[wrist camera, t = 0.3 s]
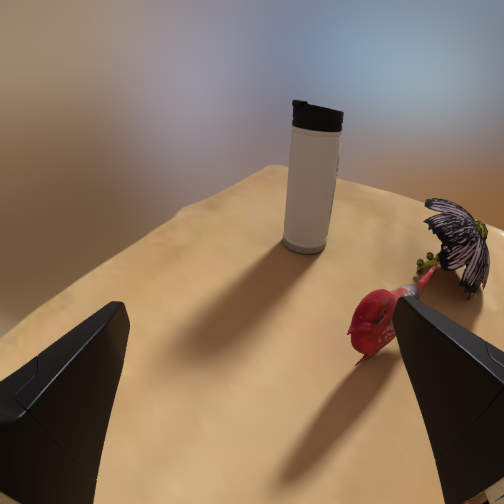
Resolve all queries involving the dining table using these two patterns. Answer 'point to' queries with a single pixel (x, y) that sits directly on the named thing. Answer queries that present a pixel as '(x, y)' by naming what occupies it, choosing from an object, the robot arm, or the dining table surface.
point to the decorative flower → (458, 244)
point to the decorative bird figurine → (380, 317)
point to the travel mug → (311, 176)
